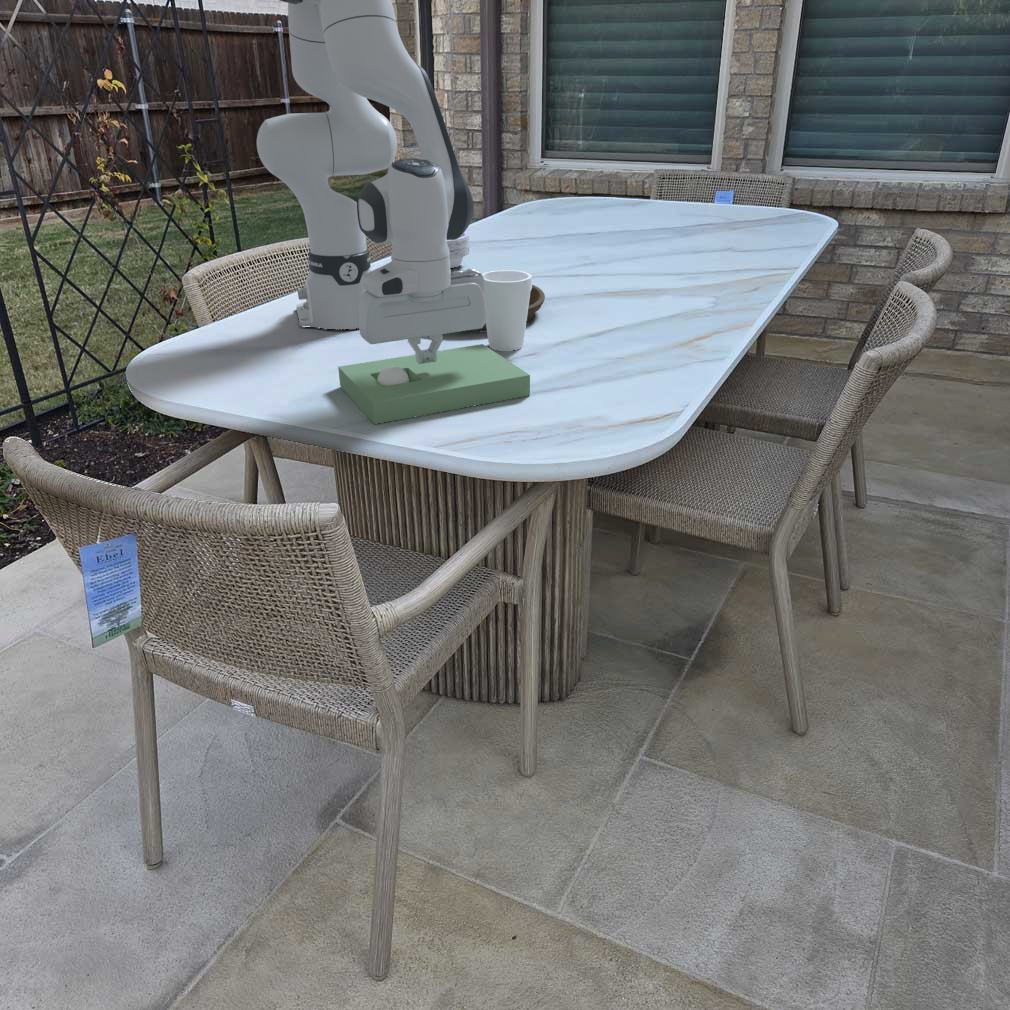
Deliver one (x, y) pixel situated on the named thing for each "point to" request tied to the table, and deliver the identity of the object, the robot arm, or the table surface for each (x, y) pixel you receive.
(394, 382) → the ball
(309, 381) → the table surface
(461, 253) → the paper bowls
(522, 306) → the foam cup
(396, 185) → the robot arm
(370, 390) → the green
